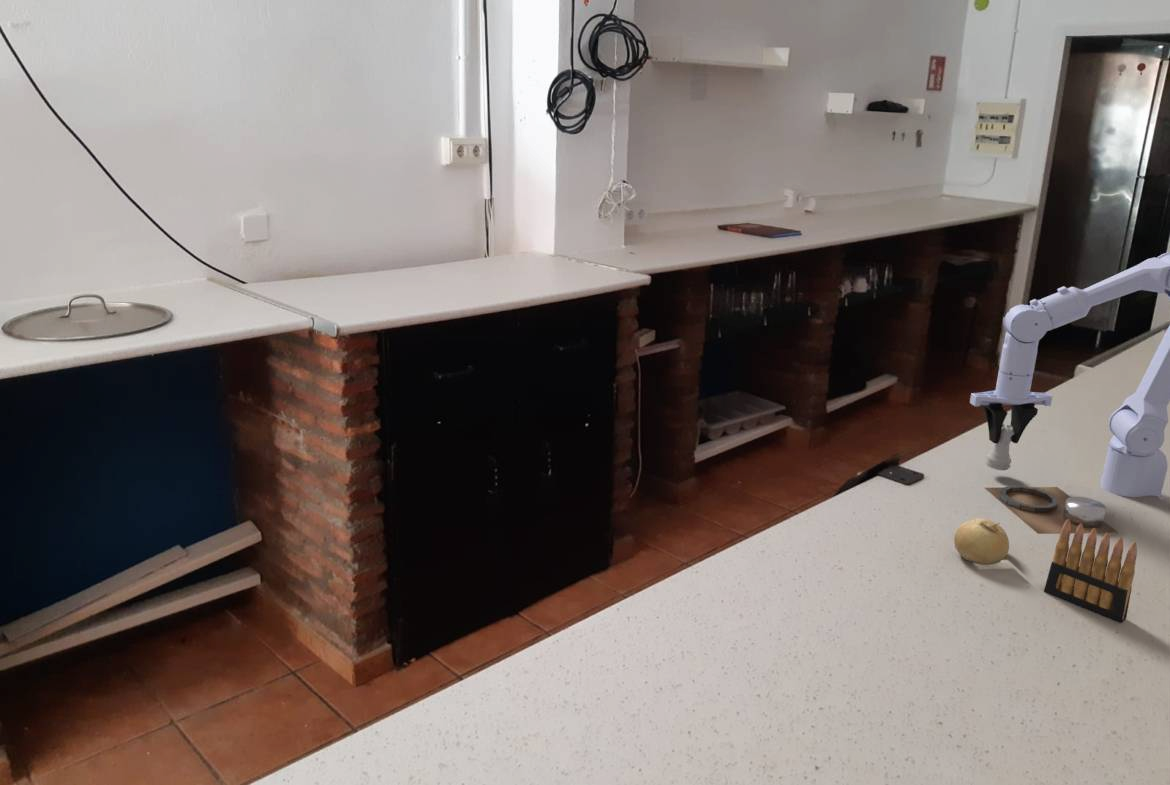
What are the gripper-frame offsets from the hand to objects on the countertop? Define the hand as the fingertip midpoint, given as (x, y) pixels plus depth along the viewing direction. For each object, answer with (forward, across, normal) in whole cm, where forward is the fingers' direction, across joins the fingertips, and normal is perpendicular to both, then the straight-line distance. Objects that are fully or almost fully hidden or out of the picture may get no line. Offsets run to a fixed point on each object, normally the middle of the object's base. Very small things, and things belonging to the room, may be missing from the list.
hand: (1003, 441), depth 171 cm
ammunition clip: (+8, +10, +43) cm, 45 cm away
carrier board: (+8, -2, +14) cm, 16 cm away
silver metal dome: (+7, -5, +18) cm, 21 cm away
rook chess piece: (+5, 0, 0) cm, 5 cm away
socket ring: (+7, 0, +11) cm, 13 cm away
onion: (+8, +18, +29) cm, 35 cm away
